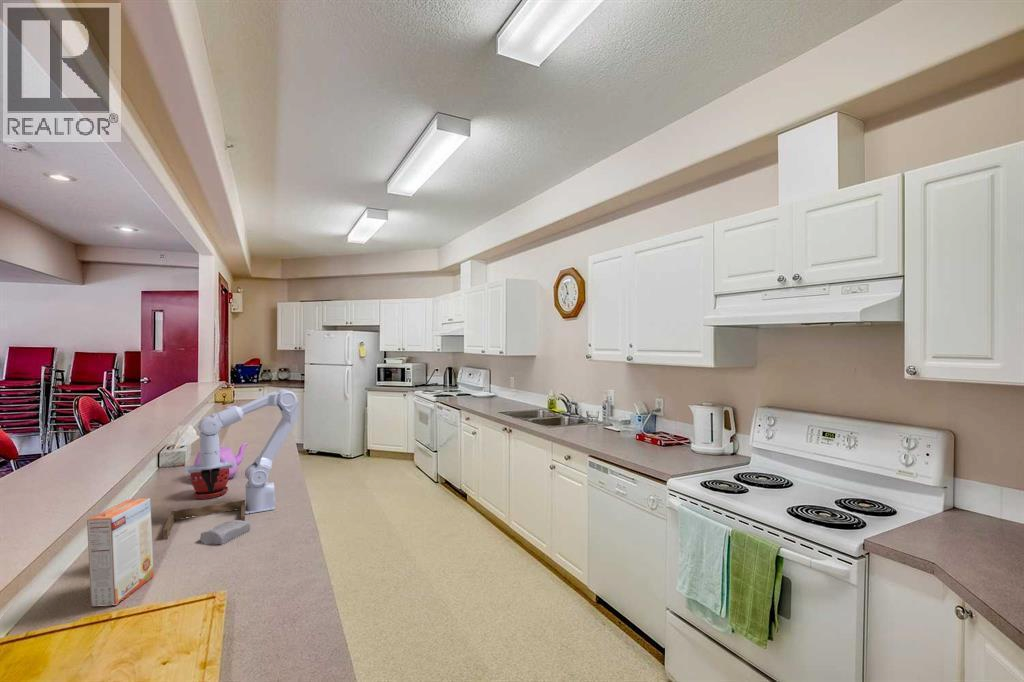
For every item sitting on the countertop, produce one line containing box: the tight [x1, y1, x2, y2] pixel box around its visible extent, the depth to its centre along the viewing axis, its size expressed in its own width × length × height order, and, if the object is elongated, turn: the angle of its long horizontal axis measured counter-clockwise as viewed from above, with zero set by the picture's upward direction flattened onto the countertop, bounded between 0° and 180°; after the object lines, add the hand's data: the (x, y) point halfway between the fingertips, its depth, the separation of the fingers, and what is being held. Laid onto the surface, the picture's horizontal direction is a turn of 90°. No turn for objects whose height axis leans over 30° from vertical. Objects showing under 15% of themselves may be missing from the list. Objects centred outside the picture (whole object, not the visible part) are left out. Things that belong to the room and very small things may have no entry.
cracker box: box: [86, 497, 155, 607], centre depth 120 cm, size 14×6×21 cm, turn 5°
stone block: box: [199, 519, 251, 546], centre depth 153 cm, size 12×5×10 cm
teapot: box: [193, 441, 251, 481], centre depth 217 cm, size 23×21×15 cm
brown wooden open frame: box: [162, 499, 246, 540], centre depth 165 cm, size 22×19×3 cm
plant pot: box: [189, 468, 230, 500], centre depth 193 cm, size 13×13×12 cm
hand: (211, 491), depth 168 cm, fingers closed
